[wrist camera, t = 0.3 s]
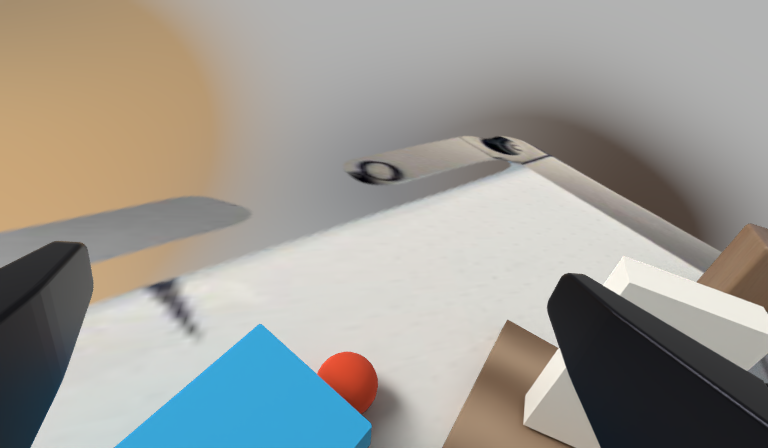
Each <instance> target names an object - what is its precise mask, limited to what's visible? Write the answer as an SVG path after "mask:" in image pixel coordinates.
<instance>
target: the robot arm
mask: <svg viewBox="0 0 768 448" xmlns="http://www.w3.org/2000/svg"><path fill="white" fill-rule="evenodd" d="M92 292H93V277H92V271H91V265H90V260H89V254H88V249H87V247H86V245H84V244H83V243H81V242H68V241H54V242H52V243H49V244H47V245H45V246H43V247H41V248H39V249H37V250H35V251H33V252H31V253H29V254H27V255H25V256H23V257H21V258H19V259H18V260H16V261H14V262H12V263H10V264H8V265H6V266H4V267H2V268H0V448H30V447H31V445H32V443H33V441H34V439H35V437H36V435H37V433H38V431H39V429H40V427H41V425H42V423H43V421H44V418H45V416H46V414H47V412H48V410H49V408H50V406H51V404H52V402H53V400H54V398H55V396H56V394H57V391H58V389H59V387H60V385H61V383H62V380H63V378H64V375H65V372H66V370H67V367H68V364H69V361H70V358H71V355H72V353H73V350H74V347H75V344H76V341H77V338H78V335H79V332H80V329H81V326H82V323H83V320H84V317H85V314H86V311H87V308H88V305H89V302H90V299H91V296H92ZM547 311H548V315H549V318H550V321H551V324H552V327H553V330H554V333H555V336H556V339H557V342H558V345H559V348H560V351H561V354H562V357H563V360H564V363H565V366H566V369H567V371H568V374H569V377H570V379H571V382H572V384H573V386H574V389H575V391H576V393H577V395H578V398H579V400H580V402H581V404H582V407H583V409H584V411H585V413H586V416H587V418H588V420H589V423H590V425H591V427H592V429H593V432H594V434H595V436H596V438H597V441H598V443H599V445H600V447H601V448H768V383H764V381H763V380H761V379H760V378H758V377H756V376H755V375H753V374H751V373H750V372H748V371H746V370H744V369H743V368H741V367H739V366H738V365H736V364H734V363H733V362H731V361H729V360H728V359H726V358H724V357H723V356H721V355H719V354H718V353H716V352H714V351H712V350H711V349H709V348H707V347H706V346H704V345H702V344H701V343H699V342H697V341H696V340H694V339H692V338H691V337H689V336H687V335H686V334H684V333H682V332H681V331H679V330H677V329H675V328H674V327H672V326H670V325H669V324H667V323H665V322H664V321H662V320H660V319H659V318H657V317H655V316H654V315H652V314H650V313H649V312H647V311H645V310H643V309H642V308H640V307H638V306H637V305H635V304H633V303H632V302H630V301H628V300H627V299H625V298H623V297H622V296H620V295H618V294H617V293H615V292H613V291H611V290H610V289H608V288H606V287H605V286H603V285H601V284H600V283H598V282H596V281H595V280H593V279H591V278H590V277H588V276H586V275H584V274H575V273H567V274H564V275H563V276H562V277H561V278H560V280H559V282H558V284H557V286H556V287H555V289H554V291H553V293H552V295H551V297H550V298H549V301H548V304H547Z"/></svg>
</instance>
